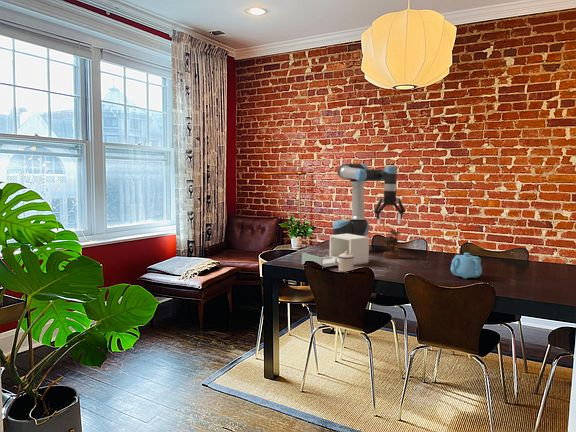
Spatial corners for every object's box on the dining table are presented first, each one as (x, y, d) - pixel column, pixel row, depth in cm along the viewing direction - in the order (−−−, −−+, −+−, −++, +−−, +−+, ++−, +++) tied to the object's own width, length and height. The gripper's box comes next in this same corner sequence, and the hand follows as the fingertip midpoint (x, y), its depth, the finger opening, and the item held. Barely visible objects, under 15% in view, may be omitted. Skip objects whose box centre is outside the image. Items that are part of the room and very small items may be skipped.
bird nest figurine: (403, 257, 297) (403, 229, 293) (396, 261, 288) (396, 232, 285) (383, 254, 306) (383, 227, 303) (376, 258, 298) (375, 230, 295)
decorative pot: (484, 276, 246) (485, 252, 245) (478, 281, 233) (479, 256, 232) (454, 272, 255) (455, 249, 254) (447, 277, 242) (448, 253, 241)
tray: (301, 264, 273) (301, 252, 272) (330, 259, 286) (330, 249, 286) (321, 269, 257) (321, 257, 256) (350, 265, 271) (350, 253, 270)
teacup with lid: (356, 270, 258) (356, 251, 256) (348, 273, 250) (349, 253, 249) (338, 267, 265) (339, 248, 264) (331, 270, 258) (331, 251, 256)
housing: (329, 260, 286) (329, 235, 285) (347, 257, 296) (347, 233, 294) (350, 265, 270) (350, 239, 269) (368, 262, 279) (369, 237, 278)
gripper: (373, 190, 267) (372, 224, 269) (411, 190, 271) (410, 224, 273) (369, 190, 274) (368, 223, 276) (406, 190, 279) (404, 223, 281)
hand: (389, 224), depth 275 cm, fingers open, 13 cm apart
